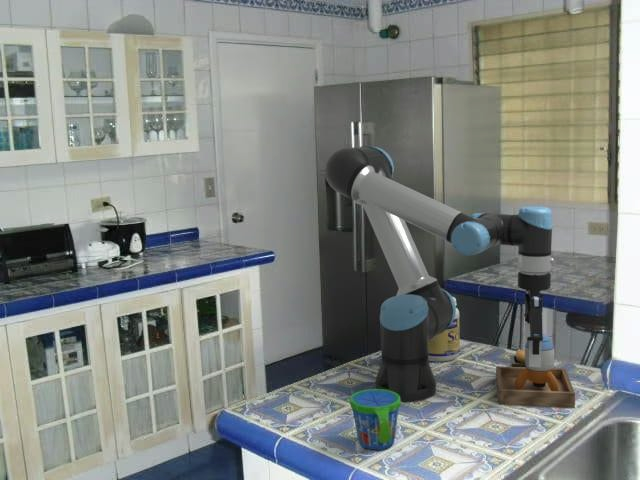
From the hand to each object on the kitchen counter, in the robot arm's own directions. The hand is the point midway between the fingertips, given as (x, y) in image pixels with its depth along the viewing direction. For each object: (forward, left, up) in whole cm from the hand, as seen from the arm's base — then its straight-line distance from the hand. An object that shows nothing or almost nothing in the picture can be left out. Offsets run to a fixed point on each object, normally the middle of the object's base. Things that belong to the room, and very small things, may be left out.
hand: (532, 357), depth 170 cm
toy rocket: (0, 0, -8) cm, 8 cm away
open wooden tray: (0, 0, -9) cm, 9 cm away
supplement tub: (-24, +26, -9) cm, 36 cm away
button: (-1, +13, -5) cm, 14 cm away
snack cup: (-34, -32, -9) cm, 48 cm away
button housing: (-1, +13, -9) cm, 16 cm away
